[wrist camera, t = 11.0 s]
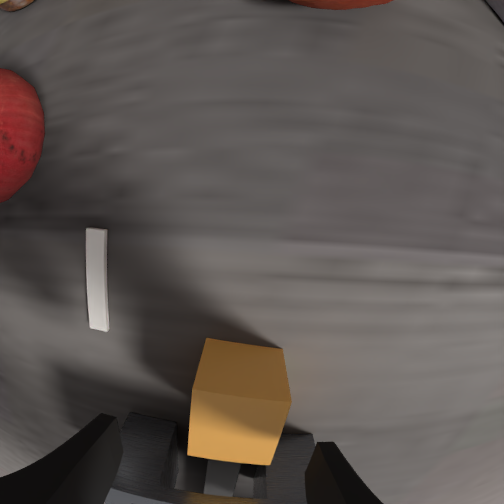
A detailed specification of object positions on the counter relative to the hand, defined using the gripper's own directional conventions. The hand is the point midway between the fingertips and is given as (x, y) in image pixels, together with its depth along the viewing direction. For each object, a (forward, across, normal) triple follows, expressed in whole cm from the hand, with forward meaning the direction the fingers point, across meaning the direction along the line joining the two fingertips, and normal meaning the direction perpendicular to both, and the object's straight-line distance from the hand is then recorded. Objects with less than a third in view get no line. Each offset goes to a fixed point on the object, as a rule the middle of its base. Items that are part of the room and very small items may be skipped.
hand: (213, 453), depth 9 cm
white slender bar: (+5, +6, -4) cm, 9 cm away
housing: (+5, 0, +7) cm, 8 cm away
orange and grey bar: (+5, 0, +7) cm, 9 cm away
